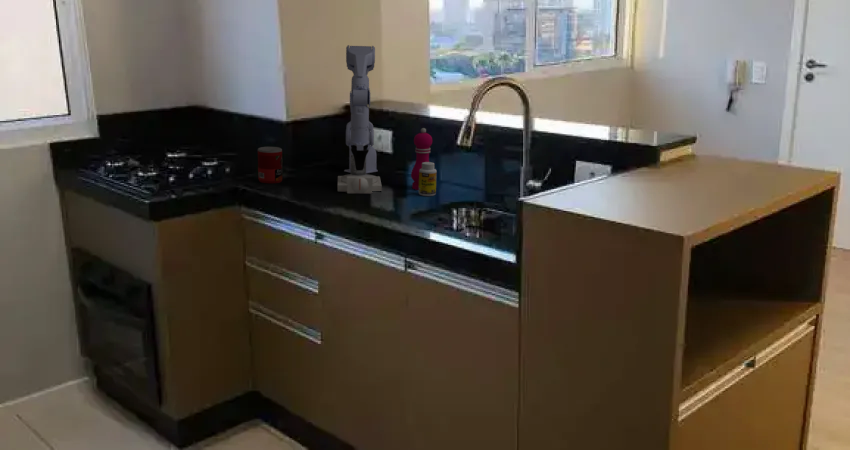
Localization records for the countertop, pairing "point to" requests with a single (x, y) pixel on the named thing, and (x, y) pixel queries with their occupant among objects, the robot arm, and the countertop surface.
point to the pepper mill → (420, 155)
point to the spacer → (353, 168)
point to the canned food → (270, 164)
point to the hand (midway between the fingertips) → (359, 168)
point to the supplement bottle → (427, 179)
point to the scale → (359, 183)
